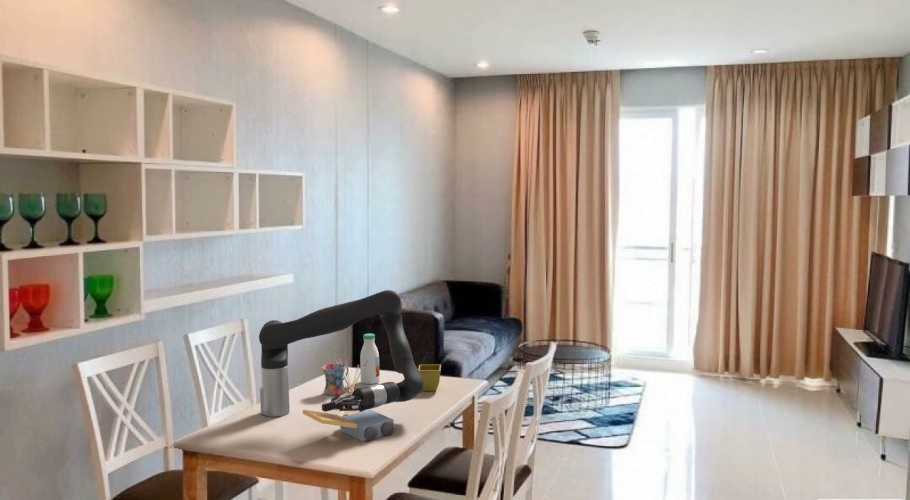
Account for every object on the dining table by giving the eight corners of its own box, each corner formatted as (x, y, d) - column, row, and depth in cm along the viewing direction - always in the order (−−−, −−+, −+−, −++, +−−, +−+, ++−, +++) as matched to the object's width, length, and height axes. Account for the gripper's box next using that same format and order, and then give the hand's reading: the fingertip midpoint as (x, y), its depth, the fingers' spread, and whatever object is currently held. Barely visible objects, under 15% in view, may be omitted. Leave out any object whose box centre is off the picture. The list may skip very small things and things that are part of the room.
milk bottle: (371, 385, 293) (370, 337, 291) (357, 383, 297) (355, 335, 295) (383, 381, 300) (382, 333, 298) (368, 378, 304) (367, 331, 302)
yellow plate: (337, 414, 241) (301, 408, 232) (361, 425, 229) (324, 420, 221) (336, 419, 241) (300, 413, 232) (360, 430, 229) (323, 425, 220)
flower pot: (440, 392, 282) (440, 370, 281) (418, 392, 282) (417, 370, 281) (441, 386, 291) (440, 364, 290) (419, 386, 291) (419, 364, 290)
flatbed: (368, 421, 250) (368, 408, 249) (396, 433, 237) (395, 420, 237) (338, 429, 242) (338, 416, 242) (364, 442, 230) (364, 428, 229)
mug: (334, 398, 277) (333, 370, 276) (317, 394, 283) (316, 367, 282) (356, 390, 286) (355, 364, 285) (340, 386, 292) (339, 361, 291)
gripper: (358, 381, 244) (312, 392, 233) (380, 390, 234) (332, 401, 223) (359, 403, 245) (313, 414, 234) (381, 412, 234) (333, 425, 224)
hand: (323, 408), depth 228 cm, fingers closed
